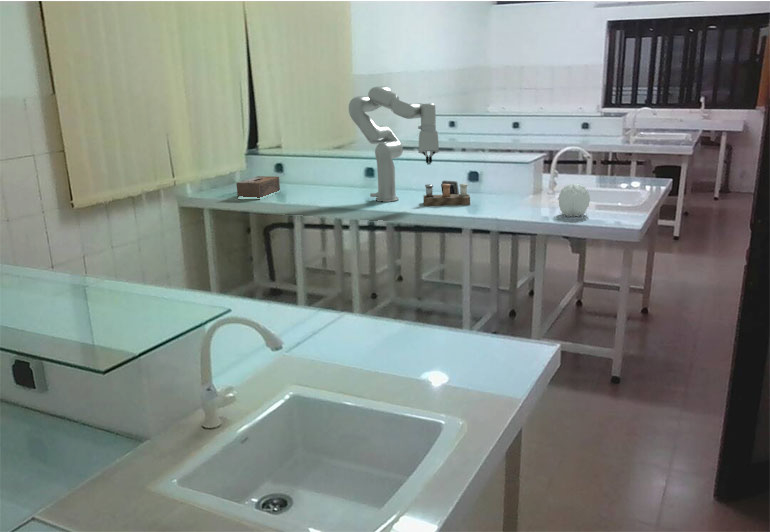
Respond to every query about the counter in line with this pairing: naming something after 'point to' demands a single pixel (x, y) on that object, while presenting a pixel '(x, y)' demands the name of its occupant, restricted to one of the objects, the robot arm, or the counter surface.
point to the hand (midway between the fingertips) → (428, 164)
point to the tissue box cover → (258, 186)
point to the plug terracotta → (446, 190)
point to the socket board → (446, 200)
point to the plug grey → (429, 190)
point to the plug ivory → (463, 189)
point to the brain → (574, 200)
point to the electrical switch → (451, 186)
